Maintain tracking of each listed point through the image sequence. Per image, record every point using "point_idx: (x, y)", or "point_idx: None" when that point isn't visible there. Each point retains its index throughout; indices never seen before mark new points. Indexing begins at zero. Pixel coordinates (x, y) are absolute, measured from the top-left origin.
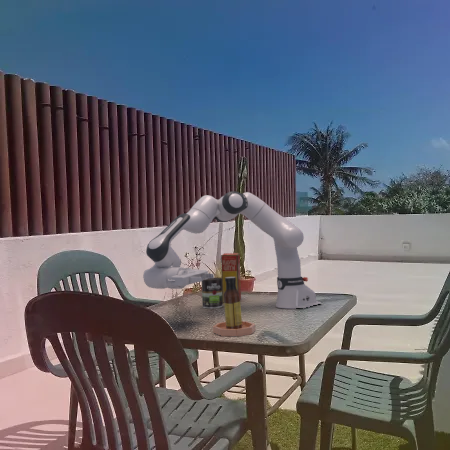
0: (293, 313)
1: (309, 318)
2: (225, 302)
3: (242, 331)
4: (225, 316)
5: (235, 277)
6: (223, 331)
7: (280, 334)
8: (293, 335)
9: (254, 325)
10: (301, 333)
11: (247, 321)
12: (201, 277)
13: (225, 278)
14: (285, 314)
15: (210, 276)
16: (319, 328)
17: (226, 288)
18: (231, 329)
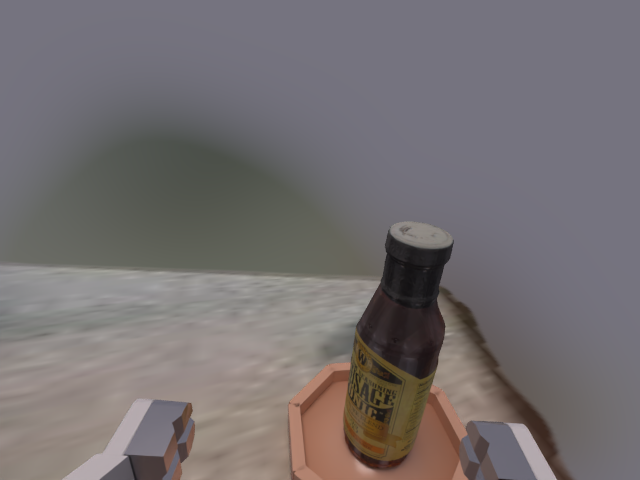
0: (22, 341)
1: (139, 298)
2: (436, 363)
3: None
4: (416, 423)
5: (405, 223)
6: None
7: (352, 318)
8: (350, 298)
9: (340, 365)
10: (326, 290)
11: (292, 399)
12: (497, 422)
13: (450, 247)
14: (30, 359)
15: (178, 444)
16: (268, 274)
17: (434, 299)
18: (450, 408)
